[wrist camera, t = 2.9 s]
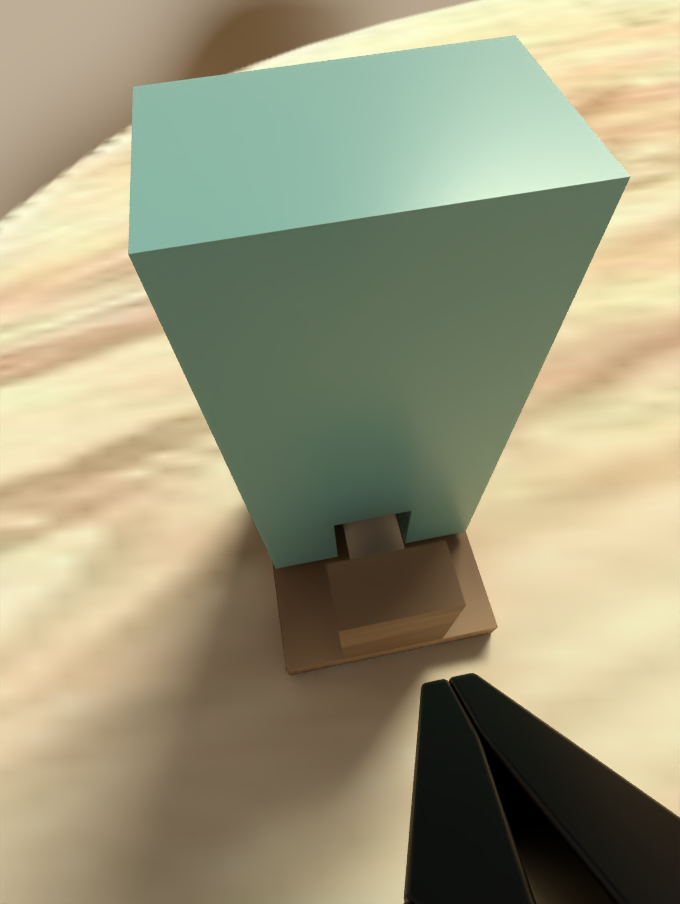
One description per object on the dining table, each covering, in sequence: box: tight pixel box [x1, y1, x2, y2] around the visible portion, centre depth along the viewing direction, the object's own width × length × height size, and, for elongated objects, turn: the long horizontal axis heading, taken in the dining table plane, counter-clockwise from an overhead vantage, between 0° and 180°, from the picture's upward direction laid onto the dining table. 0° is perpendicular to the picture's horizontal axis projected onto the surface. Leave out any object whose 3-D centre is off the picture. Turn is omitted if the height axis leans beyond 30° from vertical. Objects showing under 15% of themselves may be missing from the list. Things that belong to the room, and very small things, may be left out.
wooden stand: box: [273, 513, 497, 675], centre depth 18 cm, size 18×6×5 cm, turn 11°
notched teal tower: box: [128, 36, 630, 569], centre depth 12 cm, size 4×6×12 cm, turn 101°
